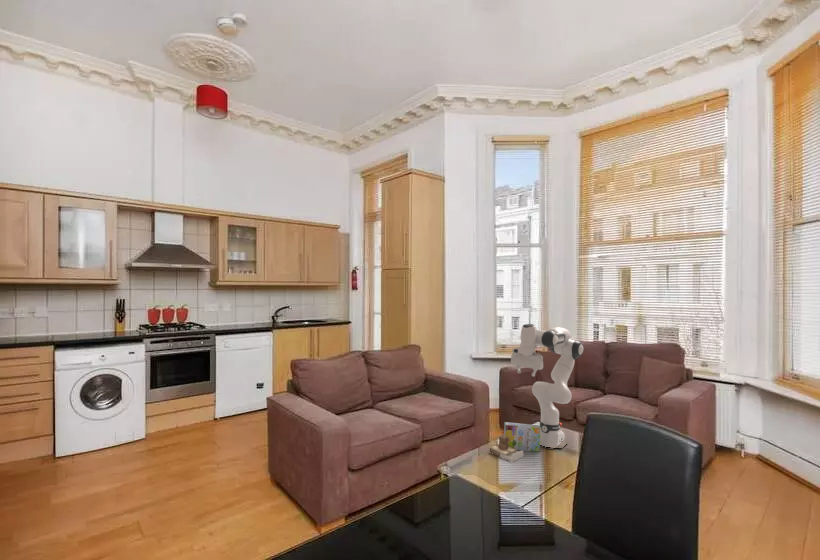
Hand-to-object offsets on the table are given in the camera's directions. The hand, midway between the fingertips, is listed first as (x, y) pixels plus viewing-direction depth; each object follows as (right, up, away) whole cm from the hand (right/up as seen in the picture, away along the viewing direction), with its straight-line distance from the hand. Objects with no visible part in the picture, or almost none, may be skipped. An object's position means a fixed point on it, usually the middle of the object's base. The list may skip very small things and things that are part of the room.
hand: (526, 374), depth 245 cm
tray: (-10, -47, -4) cm, 49 cm away
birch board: (-14, -47, 0) cm, 49 cm away
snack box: (0, -49, +10) cm, 49 cm away
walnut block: (-13, -44, 0) cm, 46 cm away
